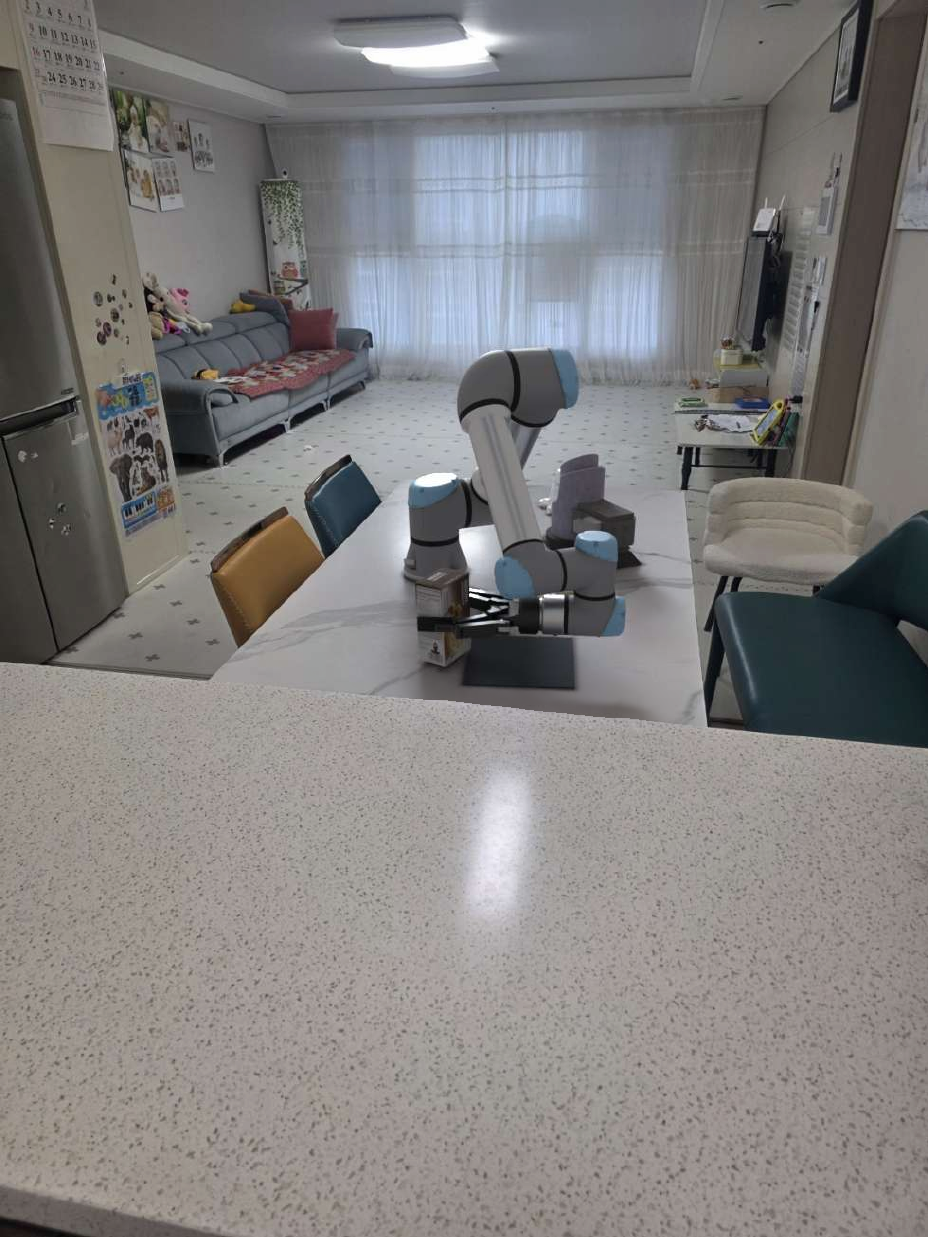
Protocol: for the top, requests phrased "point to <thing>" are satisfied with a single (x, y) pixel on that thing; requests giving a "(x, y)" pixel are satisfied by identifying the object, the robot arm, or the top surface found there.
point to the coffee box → (442, 613)
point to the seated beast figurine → (552, 493)
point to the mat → (520, 662)
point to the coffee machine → (589, 510)
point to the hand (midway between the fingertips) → (421, 611)
